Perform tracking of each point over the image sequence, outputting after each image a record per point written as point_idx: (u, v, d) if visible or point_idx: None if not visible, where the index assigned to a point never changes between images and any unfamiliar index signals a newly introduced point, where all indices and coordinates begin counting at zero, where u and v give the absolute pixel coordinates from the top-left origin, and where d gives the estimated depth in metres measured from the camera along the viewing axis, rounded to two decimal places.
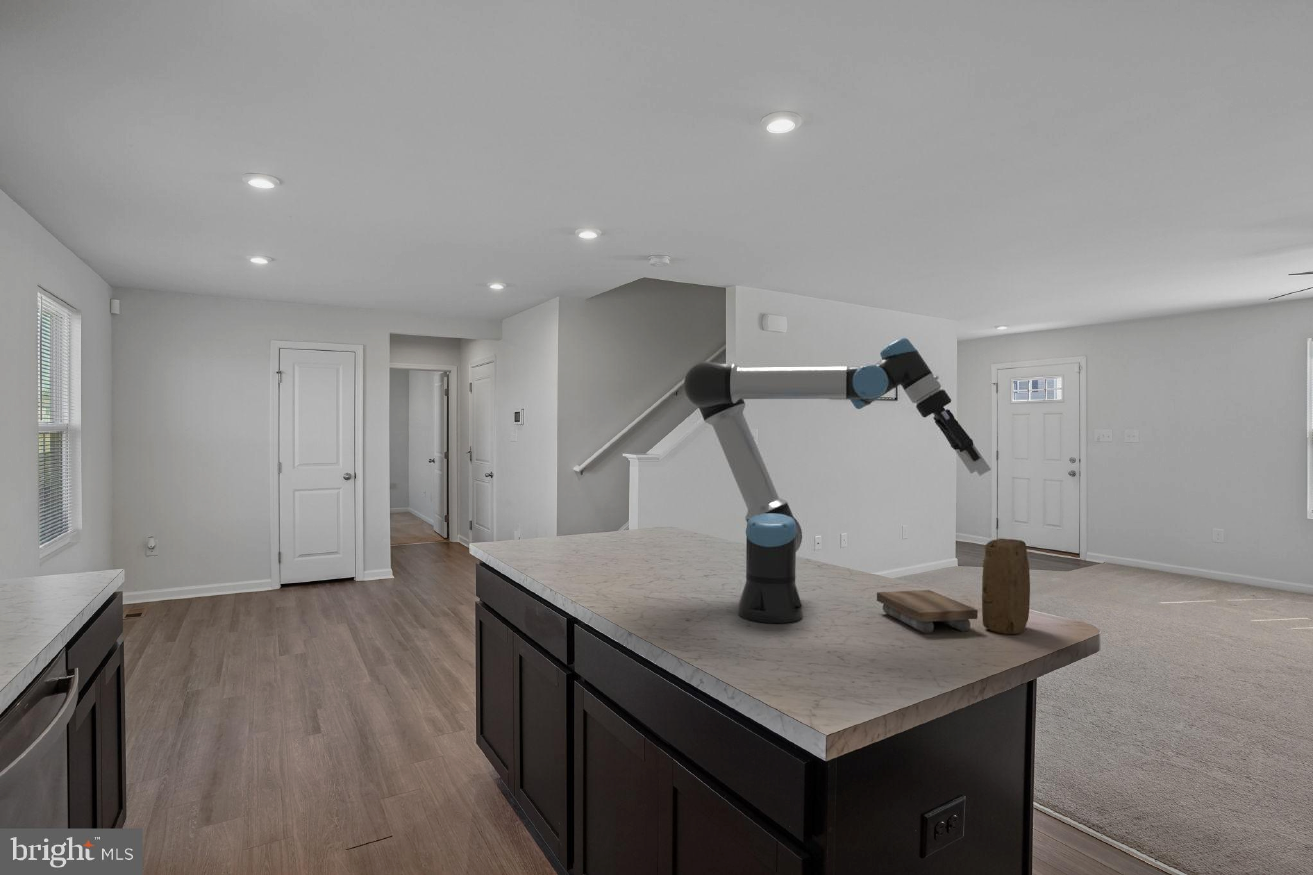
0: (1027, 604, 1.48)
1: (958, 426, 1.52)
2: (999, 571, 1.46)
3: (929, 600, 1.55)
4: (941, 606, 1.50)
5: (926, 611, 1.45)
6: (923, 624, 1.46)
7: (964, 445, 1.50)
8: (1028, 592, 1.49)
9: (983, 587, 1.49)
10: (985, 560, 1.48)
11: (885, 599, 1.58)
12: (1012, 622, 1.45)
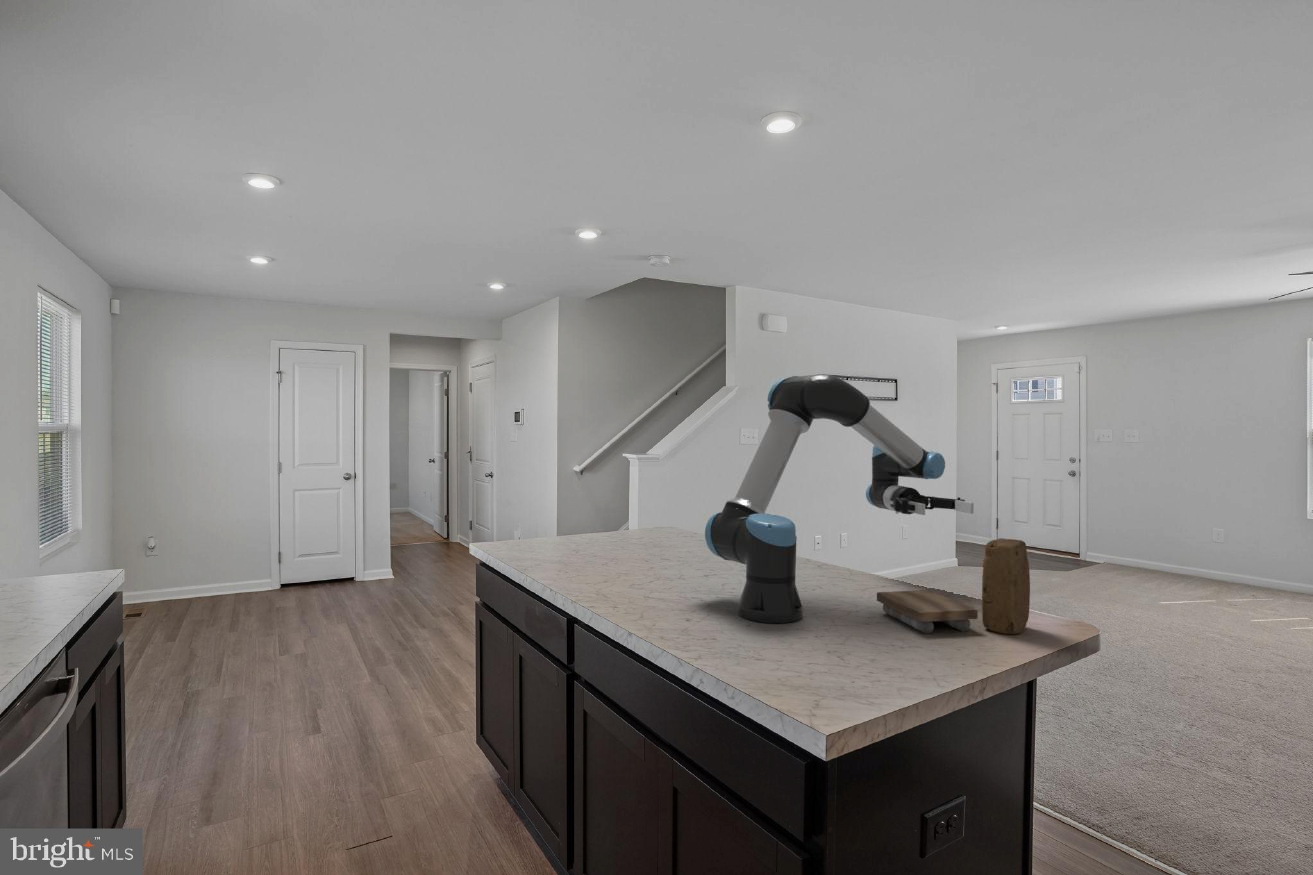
0: (1027, 604, 1.48)
1: None
2: (999, 571, 1.46)
3: (929, 600, 1.55)
4: (941, 606, 1.50)
5: (926, 611, 1.45)
6: (923, 624, 1.46)
7: None
8: (1028, 592, 1.49)
9: (983, 587, 1.49)
10: (985, 560, 1.48)
11: (885, 599, 1.58)
12: (1012, 622, 1.45)
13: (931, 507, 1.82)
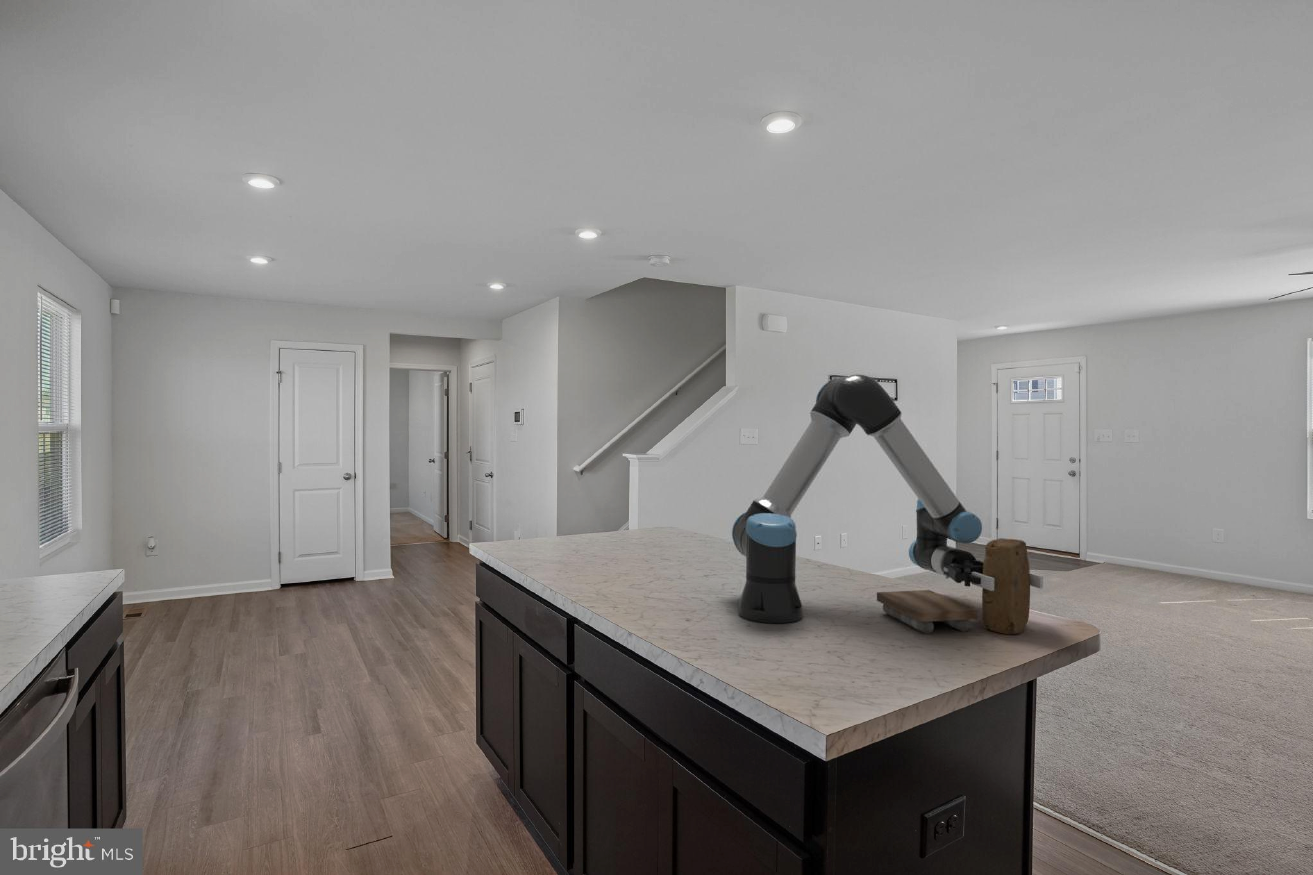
0: (1027, 604, 1.48)
1: None
2: (1000, 571, 1.46)
3: (929, 600, 1.55)
4: (941, 606, 1.50)
5: (926, 611, 1.45)
6: (923, 624, 1.46)
7: None
8: (1028, 592, 1.49)
9: None
10: (985, 560, 1.48)
11: (885, 599, 1.58)
12: (1012, 622, 1.45)
13: None
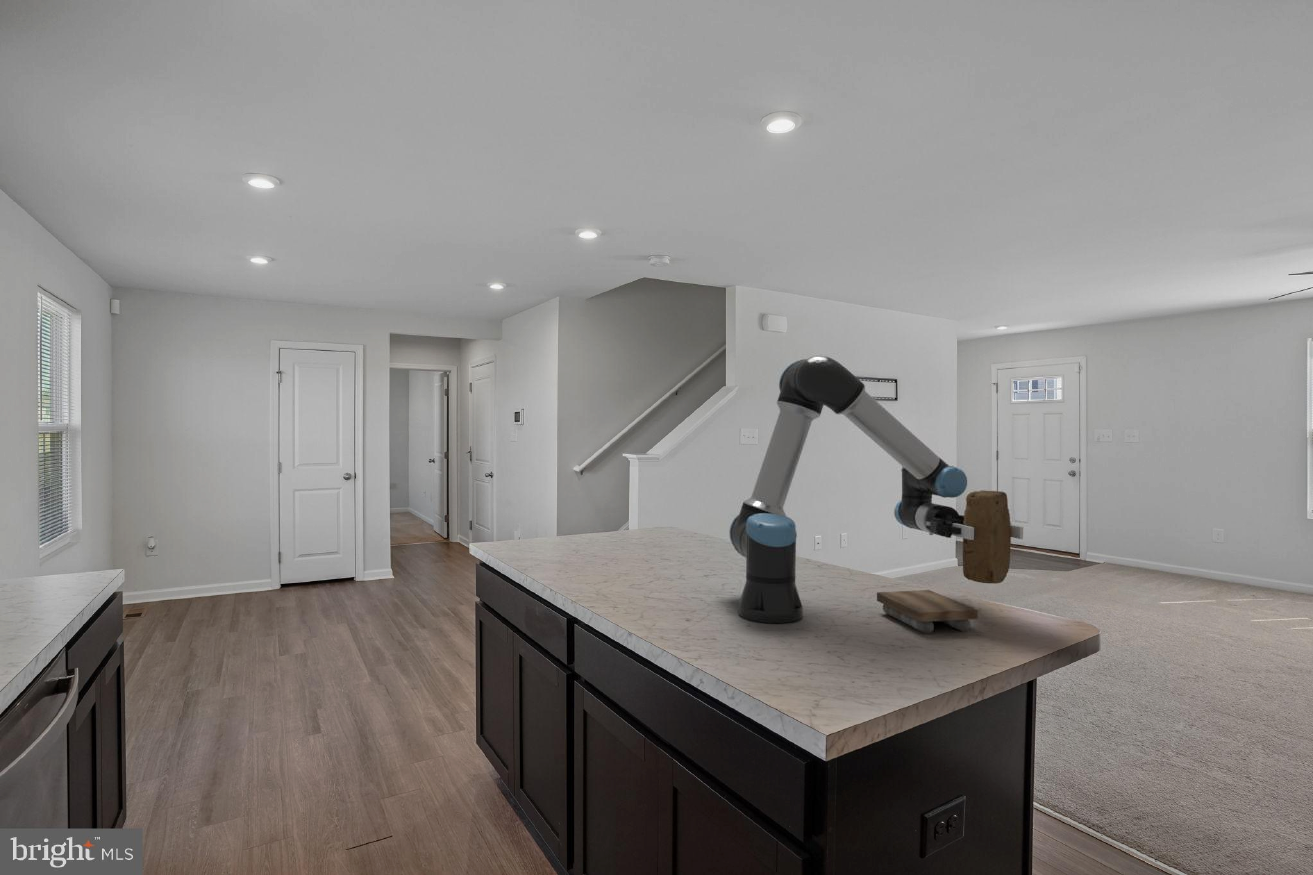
0: (1007, 555, 1.49)
1: None
2: (980, 521, 1.47)
3: (929, 600, 1.55)
4: (941, 606, 1.50)
5: (926, 611, 1.45)
6: (923, 624, 1.46)
7: None
8: (1009, 543, 1.50)
9: None
10: (966, 510, 1.49)
11: (885, 599, 1.58)
12: (991, 571, 1.46)
13: None
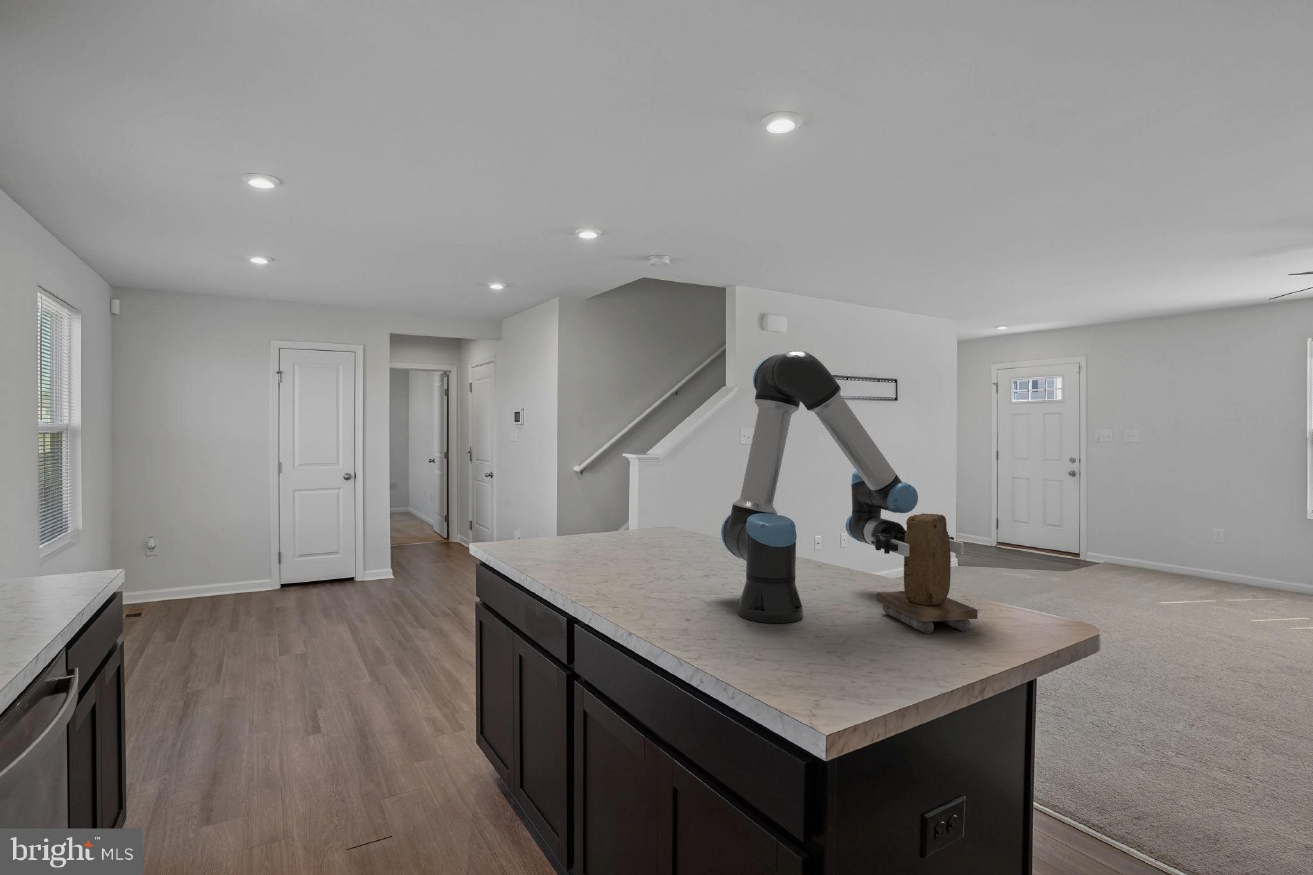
0: (947, 577, 1.52)
1: None
2: (919, 544, 1.50)
3: None
4: (941, 606, 1.50)
5: (926, 611, 1.45)
6: (923, 624, 1.46)
7: None
8: (948, 565, 1.53)
9: (904, 560, 1.53)
10: (906, 534, 1.53)
11: (885, 599, 1.58)
12: (930, 594, 1.49)
13: None
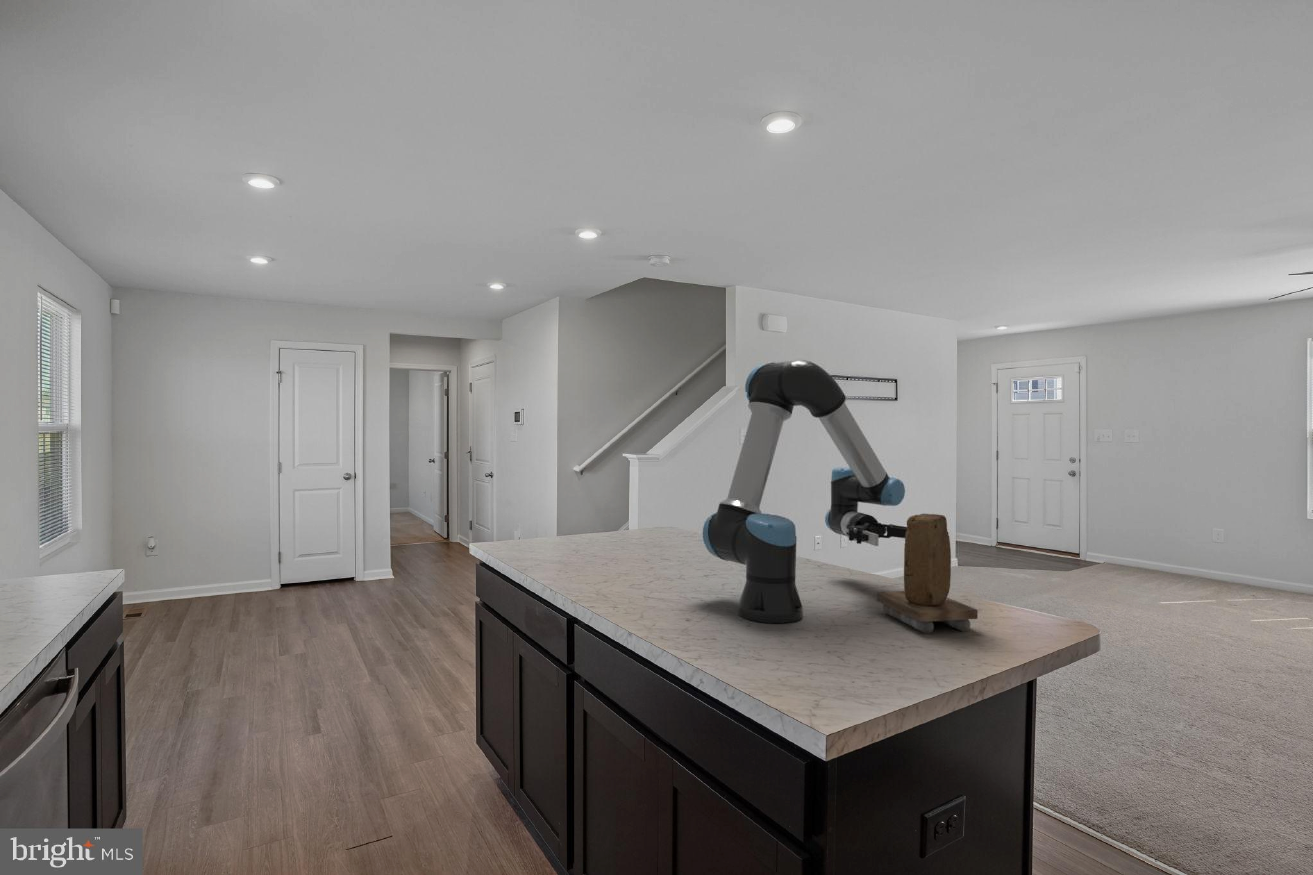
0: (947, 577, 1.52)
1: None
2: (919, 545, 1.50)
3: None
4: (941, 606, 1.50)
5: (926, 611, 1.45)
6: (923, 624, 1.46)
7: None
8: (948, 565, 1.53)
9: (905, 560, 1.53)
10: (906, 534, 1.52)
11: (885, 599, 1.58)
12: (930, 594, 1.49)
13: (888, 536, 1.76)
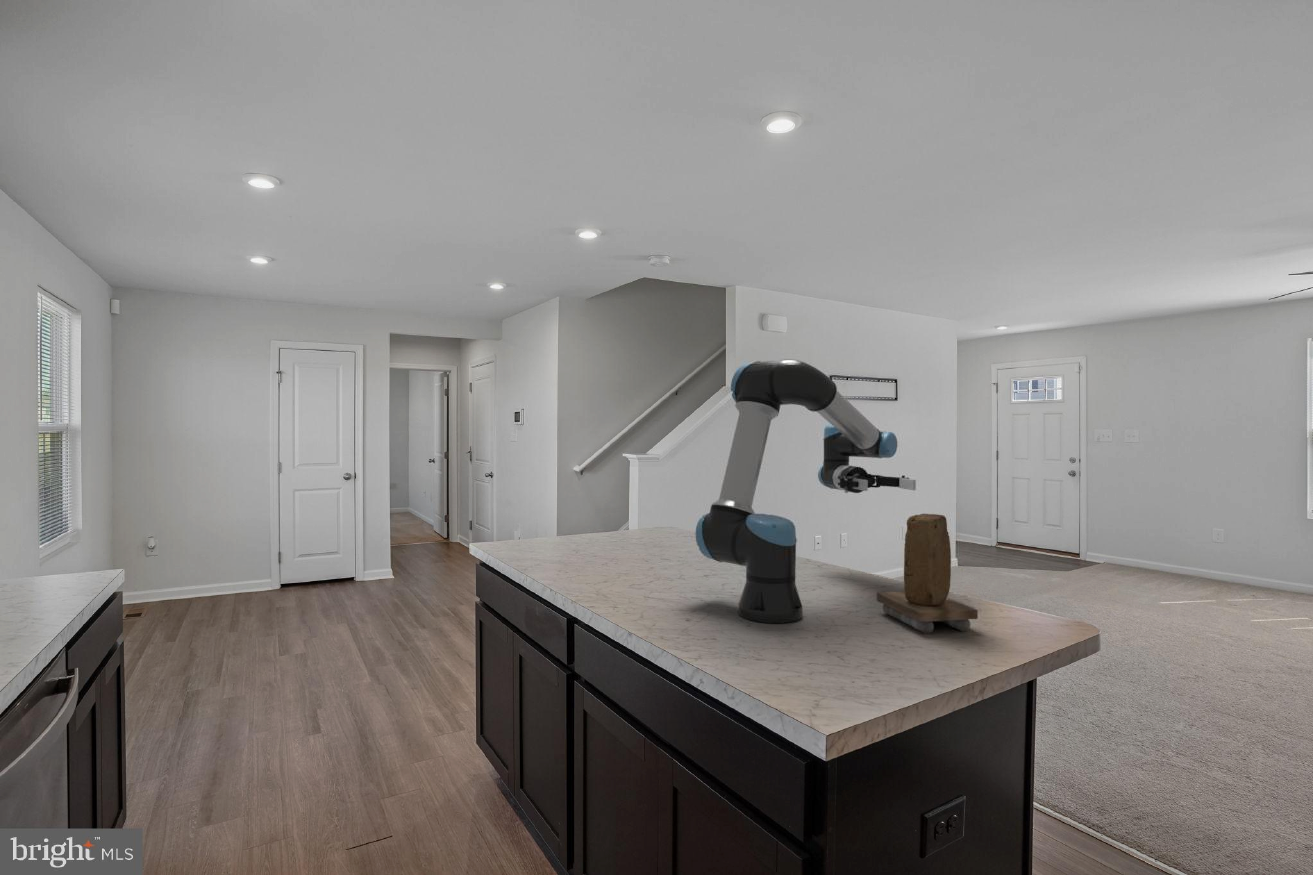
0: (947, 577, 1.52)
1: None
2: (919, 545, 1.50)
3: None
4: (941, 606, 1.50)
5: (926, 611, 1.45)
6: (923, 624, 1.46)
7: None
8: (948, 565, 1.53)
9: (905, 560, 1.53)
10: (906, 534, 1.52)
11: (885, 599, 1.58)
12: (930, 594, 1.49)
13: (877, 485, 1.85)
